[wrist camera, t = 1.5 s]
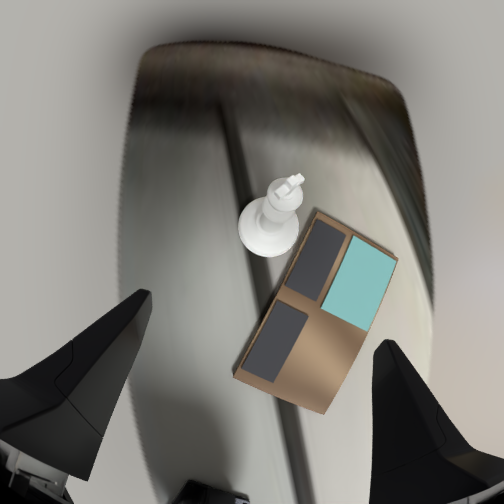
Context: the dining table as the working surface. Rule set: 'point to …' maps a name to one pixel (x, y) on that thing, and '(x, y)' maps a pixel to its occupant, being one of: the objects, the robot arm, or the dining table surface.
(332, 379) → the walnut board
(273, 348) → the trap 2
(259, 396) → the dining table surface
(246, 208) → the chess piece
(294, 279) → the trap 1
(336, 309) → the pad
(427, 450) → the robot arm
